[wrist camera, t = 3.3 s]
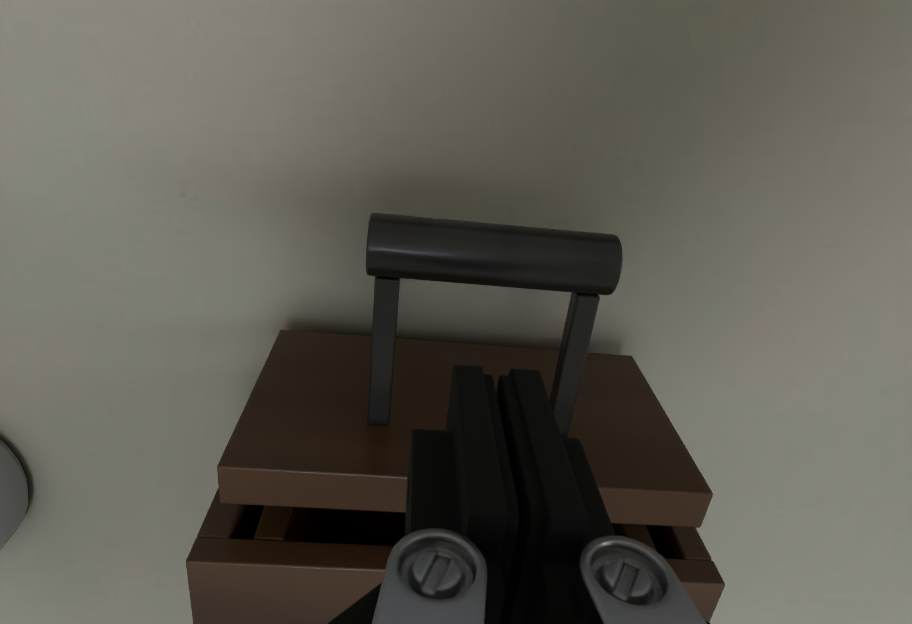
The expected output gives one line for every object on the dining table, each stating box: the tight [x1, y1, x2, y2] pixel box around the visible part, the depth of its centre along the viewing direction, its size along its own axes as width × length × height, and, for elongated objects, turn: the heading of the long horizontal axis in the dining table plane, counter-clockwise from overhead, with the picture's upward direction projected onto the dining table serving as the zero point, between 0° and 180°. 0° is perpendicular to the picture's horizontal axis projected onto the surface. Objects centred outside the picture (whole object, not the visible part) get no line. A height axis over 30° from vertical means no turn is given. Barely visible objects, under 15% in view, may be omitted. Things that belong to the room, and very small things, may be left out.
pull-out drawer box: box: [217, 213, 713, 552], centre depth 20 cm, size 20×12×7 cm, turn 174°
